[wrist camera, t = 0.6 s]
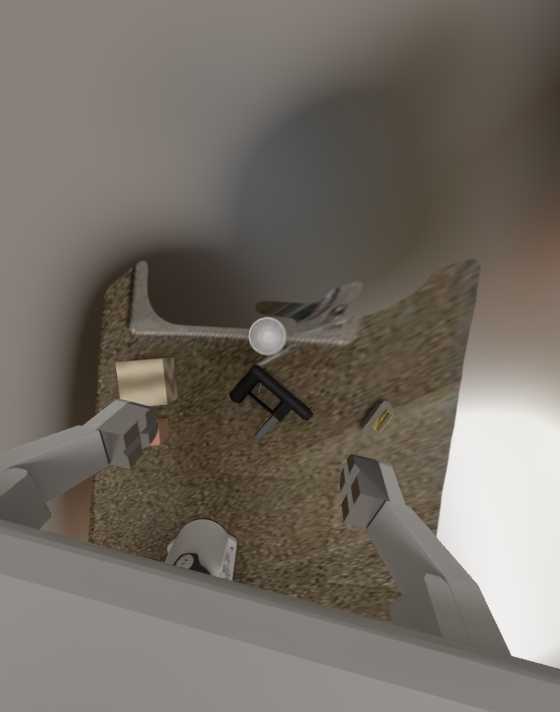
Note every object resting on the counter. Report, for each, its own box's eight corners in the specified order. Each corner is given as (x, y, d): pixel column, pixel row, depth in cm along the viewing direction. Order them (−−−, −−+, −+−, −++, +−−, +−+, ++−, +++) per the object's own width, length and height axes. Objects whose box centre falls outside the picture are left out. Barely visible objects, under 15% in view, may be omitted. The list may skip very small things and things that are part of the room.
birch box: (178, 398, 60) (167, 404, 54) (137, 401, 60) (121, 408, 54) (174, 357, 59) (162, 358, 53) (132, 360, 59) (115, 362, 53)
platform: (408, 400, 61) (424, 407, 54) (369, 453, 61) (380, 466, 55) (373, 374, 60) (385, 378, 54) (333, 428, 61) (340, 438, 54)
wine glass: (257, 352, 59) (246, 358, 38) (255, 325, 59) (244, 315, 38) (285, 351, 59) (289, 356, 38) (283, 323, 59) (287, 313, 38)
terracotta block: (169, 436, 60) (160, 444, 55) (151, 437, 60) (139, 446, 55) (168, 418, 60) (158, 424, 55) (149, 419, 60) (137, 426, 55)
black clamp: (275, 456, 59) (317, 411, 57) (216, 407, 58) (257, 360, 56) (276, 450, 62) (315, 407, 60) (220, 403, 61) (258, 359, 60)
